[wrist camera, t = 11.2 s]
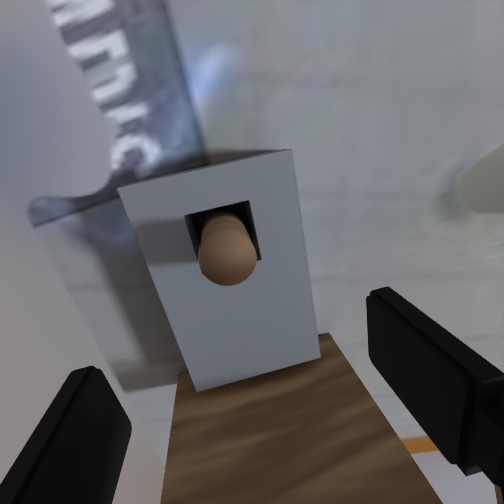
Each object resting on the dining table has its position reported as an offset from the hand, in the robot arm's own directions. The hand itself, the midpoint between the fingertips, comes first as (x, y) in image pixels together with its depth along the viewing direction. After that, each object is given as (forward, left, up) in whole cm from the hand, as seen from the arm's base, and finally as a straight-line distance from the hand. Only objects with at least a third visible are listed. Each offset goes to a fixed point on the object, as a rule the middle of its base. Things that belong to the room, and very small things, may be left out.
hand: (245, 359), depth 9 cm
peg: (0, 0, -20) cm, 20 cm away
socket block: (+5, 0, -20) cm, 20 cm away
